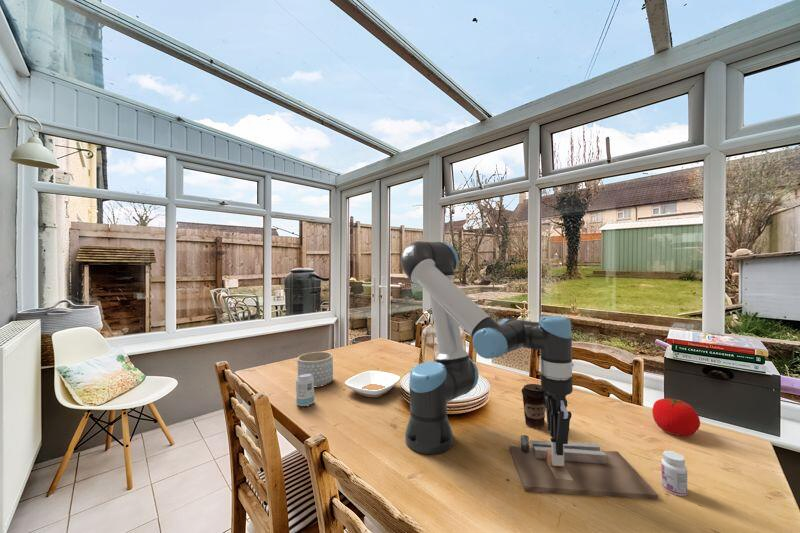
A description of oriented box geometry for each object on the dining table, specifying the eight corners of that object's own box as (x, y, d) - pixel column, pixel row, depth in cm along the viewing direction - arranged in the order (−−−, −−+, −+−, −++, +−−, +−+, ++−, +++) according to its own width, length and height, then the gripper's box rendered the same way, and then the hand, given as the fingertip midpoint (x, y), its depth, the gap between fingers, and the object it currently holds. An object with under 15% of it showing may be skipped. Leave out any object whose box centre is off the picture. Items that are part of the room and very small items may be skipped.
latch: (549, 465, 84) (549, 454, 84) (546, 460, 87) (546, 449, 87) (564, 466, 84) (563, 455, 84) (560, 460, 86) (560, 449, 86)
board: (524, 491, 77) (524, 485, 77) (509, 450, 94) (509, 445, 94) (658, 499, 73) (658, 494, 73) (617, 455, 90) (617, 451, 90)
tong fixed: (522, 452, 90) (521, 439, 90) (520, 448, 93) (519, 434, 93) (600, 456, 88) (600, 442, 88) (596, 452, 90) (596, 438, 90)
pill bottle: (656, 483, 79) (655, 450, 78) (674, 482, 79) (673, 448, 79) (674, 497, 74) (673, 462, 74) (693, 495, 74) (692, 460, 74)
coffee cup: (551, 432, 103) (550, 392, 103) (524, 430, 105) (524, 391, 105) (544, 419, 112) (544, 382, 112) (520, 417, 113) (519, 381, 113)
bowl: (406, 387, 143) (406, 376, 143) (378, 406, 125) (378, 393, 125) (369, 379, 155) (368, 368, 155) (338, 395, 136) (338, 383, 136)
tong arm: (535, 458, 87) (535, 449, 87) (533, 454, 89) (533, 446, 89) (606, 464, 84) (606, 455, 84) (603, 460, 86) (603, 451, 86)
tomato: (661, 438, 98) (661, 405, 98) (646, 420, 109) (645, 390, 109) (707, 445, 94) (707, 410, 94) (686, 425, 106) (686, 394, 105)
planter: (328, 389, 143) (328, 361, 143) (292, 389, 143) (292, 362, 143) (336, 376, 160) (335, 351, 160) (304, 376, 160) (303, 352, 160)
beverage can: (313, 399, 132) (313, 371, 132) (314, 406, 126) (314, 376, 126) (296, 402, 130) (295, 373, 130) (296, 409, 124) (295, 378, 124)
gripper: (582, 385, 76) (584, 482, 76) (561, 367, 89) (563, 450, 89) (549, 384, 77) (551, 479, 77) (534, 367, 90) (535, 448, 90)
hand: (557, 464), depth 83 cm, fingers closed
